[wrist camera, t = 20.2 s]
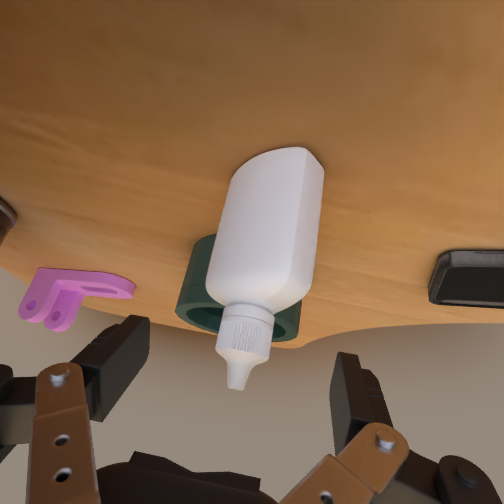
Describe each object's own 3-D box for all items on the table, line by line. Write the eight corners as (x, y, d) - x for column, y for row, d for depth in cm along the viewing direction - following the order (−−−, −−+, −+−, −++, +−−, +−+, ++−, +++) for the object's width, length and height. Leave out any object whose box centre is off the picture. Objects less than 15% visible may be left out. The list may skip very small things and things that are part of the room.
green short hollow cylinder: (202, 276, 37) (188, 329, 34) (182, 225, 28) (160, 293, 25) (299, 291, 36) (292, 348, 33) (312, 244, 27) (304, 318, 24)
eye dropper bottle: (324, 196, 21) (303, 404, 16) (238, 193, 22) (191, 384, 17) (325, 143, 17) (298, 394, 12) (221, 143, 19) (154, 369, 13)
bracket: (68, 284, 50) (47, 330, 47) (38, 267, 45) (13, 318, 42) (143, 290, 46) (125, 341, 43) (119, 273, 41) (97, 329, 38)
